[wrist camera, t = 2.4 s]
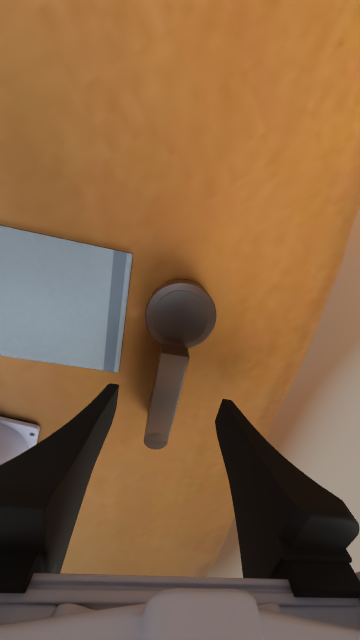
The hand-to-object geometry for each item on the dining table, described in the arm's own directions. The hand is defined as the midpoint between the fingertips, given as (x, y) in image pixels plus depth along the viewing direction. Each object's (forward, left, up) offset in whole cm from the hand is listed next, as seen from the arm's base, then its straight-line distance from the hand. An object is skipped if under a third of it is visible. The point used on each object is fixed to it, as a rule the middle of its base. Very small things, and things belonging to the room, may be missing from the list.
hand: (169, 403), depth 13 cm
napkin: (+1, +14, -6) cm, 15 cm away
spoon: (0, 0, -6) cm, 6 cm away
